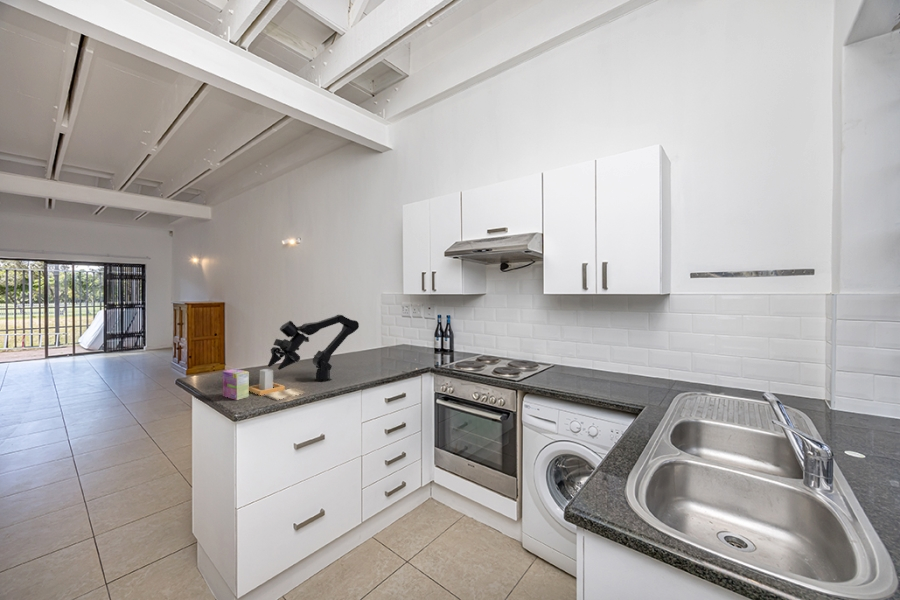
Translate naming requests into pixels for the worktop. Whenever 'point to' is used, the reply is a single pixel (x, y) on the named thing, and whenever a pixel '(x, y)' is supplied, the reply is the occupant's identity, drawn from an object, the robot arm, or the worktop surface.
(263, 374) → the block
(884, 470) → the worktop surface
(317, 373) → the robot arm
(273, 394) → the board
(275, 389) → the square wooden frame
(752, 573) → the worktop surface
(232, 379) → the box
